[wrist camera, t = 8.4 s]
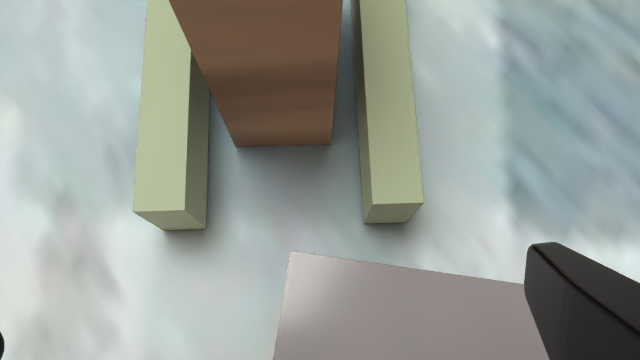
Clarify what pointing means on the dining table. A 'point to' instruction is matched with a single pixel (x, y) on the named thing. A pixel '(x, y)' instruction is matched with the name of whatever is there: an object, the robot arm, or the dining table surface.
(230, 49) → the walnut card box
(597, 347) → the robot arm
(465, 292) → the slate serving board
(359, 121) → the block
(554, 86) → the dining table surface
